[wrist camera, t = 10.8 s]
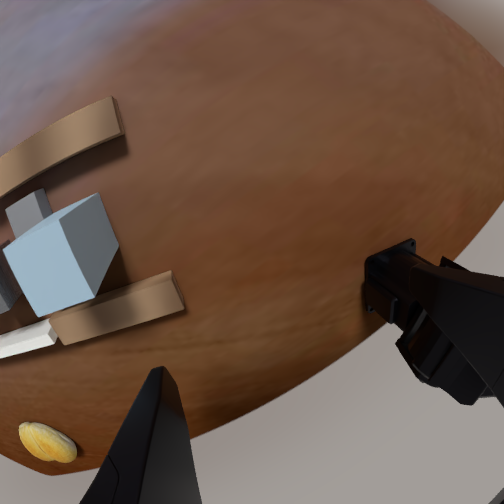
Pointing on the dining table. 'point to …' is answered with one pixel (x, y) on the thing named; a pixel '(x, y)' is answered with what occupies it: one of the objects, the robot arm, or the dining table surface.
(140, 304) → the slot rails
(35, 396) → the dining table surface
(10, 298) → the block
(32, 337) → the white bevelled strip
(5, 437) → the dining table surface
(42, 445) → the bread roll
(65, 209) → the light blue block
